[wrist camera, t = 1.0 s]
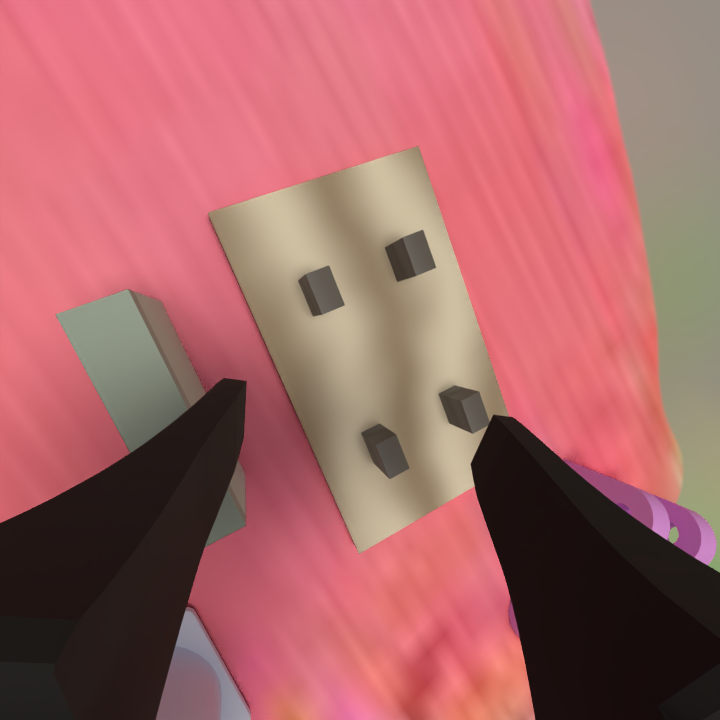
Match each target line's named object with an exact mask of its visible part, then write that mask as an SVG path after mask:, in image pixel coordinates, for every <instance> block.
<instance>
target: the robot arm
mask: <svg viewBox="0 0 720 720" xmlns="http://www.w3.org/2000/svg"><path fill="white" fill-rule="evenodd" d="M246 382H247V381H241V380H234V379H226V378H223V379H222V380H220V381H219V382H218V383H217V384H216V385H215V386H214V387H213V388H212V389H210V390H209V391H208V392H207V393H206V394H205V395H204V396H203V397H202V398H201V399H199V400H198V401H197V402H196V403H195V404H194V405H193V406H191V407H190V408H189V409H188V410H187V411H185V412H184V413H183V414H182V415H181V416H179V417H178V418H177V419H176V420H175V421H173V422H172V423H171V424H170V425H168V426H167V427H166V428H164V429H163V430H162V431H160V432H159V433H158V434H156V435H155V436H154V437H152V438H151V439H150V440H148V441H147V442H146V443H144V444H143V445H141V446H140V447H139V448H137V449H136V450H134V451H133V452H131V453H130V454H128V455H127V456H125V457H124V458H122V459H121V460H119V461H117V462H116V463H114V464H113V465H111V466H110V467H108V468H106V469H105V470H103V471H101V472H100V473H98V474H96V475H94V476H93V477H91V478H89V479H87V480H85V481H84V482H82V483H80V484H78V485H76V486H74V487H73V488H71V489H69V490H67V491H65V492H63V493H62V494H60V495H58V496H56V497H54V498H52V499H50V500H48V501H46V502H44V503H42V504H40V505H38V506H36V507H34V508H32V509H30V510H28V511H26V512H24V513H22V514H19V515H17V516H15V517H13V518H11V519H9V520H6V521H4V522H2V523H0V720H251V712H250V709H249V707H248V706H247V704H246V702H245V700H244V698H243V697H242V695H241V693H240V691H239V689H238V687H237V686H236V684H235V682H234V680H233V678H232V677H231V675H230V673H229V671H228V669H227V668H226V666H225V664H224V662H223V660H222V659H221V657H220V655H219V653H218V651H217V650H216V648H215V646H214V644H213V642H212V640H211V639H210V637H209V635H208V633H207V631H206V630H205V628H204V626H203V624H202V622H201V621H200V619H199V617H198V615H197V613H196V612H195V610H194V609H193V608H190V607H186V606H187V603H188V599H189V596H190V593H191V589H192V586H193V582H194V579H195V575H196V572H197V569H198V565H199V562H200V559H201V556H202V553H203V551H204V548H205V545H206V542H207V540H208V537H209V535H210V532H211V530H212V527H213V525H214V522H215V520H216V517H217V515H218V512H219V510H220V507H221V505H222V502H223V499H224V497H225V494H226V492H227V489H228V487H229V484H230V482H231V479H232V477H233V474H234V471H235V468H236V465H237V461H238V457H239V454H240V450H241V446H242V442H243V438H244V422H245V402H246ZM471 470H472V475H473V481H474V485H475V490H476V494H477V498H478V501H479V504H480V507H481V510H482V513H483V516H484V519H485V521H486V524H487V527H488V530H489V533H490V536H491V538H492V541H493V544H494V547H495V550H496V553H497V555H498V558H499V561H500V564H501V567H502V570H503V573H504V576H505V579H506V583H507V586H508V590H509V594H510V598H511V602H512V606H513V610H514V614H515V618H516V623H517V627H518V632H519V636H520V641H521V646H522V650H523V655H524V660H525V664H526V670H527V675H528V681H529V686H530V691H531V697H532V702H533V708H534V713H535V720H720V573H719V572H718V571H716V570H714V569H713V568H711V567H709V566H708V565H706V564H704V563H703V562H701V561H699V560H698V559H696V558H694V557H693V556H691V555H690V554H688V553H686V552H685V551H683V550H682V549H680V548H679V547H677V546H675V545H674V544H672V543H671V542H669V541H668V540H666V539H665V538H663V537H662V536H660V535H659V534H657V533H656V532H654V531H653V530H651V529H650V528H648V527H647V526H645V525H644V524H643V523H641V522H640V521H638V520H637V519H636V518H634V517H633V516H631V515H630V514H629V513H627V512H626V511H624V510H623V509H622V508H620V507H619V506H618V505H616V504H615V503H614V502H613V501H611V500H610V499H609V498H607V497H606V496H605V495H604V494H602V493H601V492H600V491H599V490H597V489H596V488H595V487H594V486H593V485H591V484H590V483H589V482H588V481H586V480H585V479H584V478H583V477H582V476H580V475H579V474H578V473H577V472H576V471H575V470H573V469H572V468H571V467H570V466H569V465H568V464H566V463H565V462H564V461H563V460H562V459H561V458H560V457H559V456H557V455H556V454H555V453H554V452H553V451H552V450H551V449H550V448H548V447H547V446H546V445H545V444H544V443H543V442H542V441H541V440H539V439H538V438H537V437H536V436H535V435H534V434H533V433H531V432H530V431H529V430H528V429H527V428H526V427H524V426H523V425H522V424H521V423H520V422H518V421H517V420H516V419H514V418H513V417H508V416H501V415H493V416H492V418H491V420H490V423H489V425H488V427H487V429H486V431H485V433H484V436H483V438H482V440H481V442H480V444H479V446H478V448H477V451H476V453H475V455H474V457H473V459H472V461H471Z"/></svg>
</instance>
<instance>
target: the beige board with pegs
mask: <svg viewBox="0 0 720 720" xmlns="http://www.w3.org/2000/svg"><path fill="white" fill-rule="evenodd" d="M208 215H209V218H210V221H211V223H212V225H213V227H214V230H215V232H216V234H217V236H218V239H219V241H220V243H221V245H222V248H223V250H224V252H225V254H226V257H227V259H228V261H229V263H230V266H231V268H232V270H233V272H234V275H235V277H236V279H237V281H238V284H239V286H240V288H241V290H242V293H243V295H244V297H245V299H246V302H247V304H248V306H249V308H250V311H251V313H252V315H253V317H254V320H255V322H256V324H257V326H258V329H259V331H260V333H261V335H262V338H263V340H264V342H265V344H266V347H267V349H268V351H269V353H270V356H271V358H272V360H273V362H274V365H275V367H276V369H277V371H278V374H279V376H280V378H281V380H282V383H283V385H284V387H285V389H286V392H287V394H288V396H289V398H290V401H291V403H292V405H293V407H294V410H295V412H296V414H297V416H298V419H299V421H300V423H301V425H302V428H303V430H304V432H305V434H306V437H307V439H308V441H309V443H310V446H311V448H312V450H313V452H314V455H315V457H316V459H317V461H318V464H319V466H320V468H321V470H322V473H323V475H324V477H325V479H326V482H327V484H328V486H329V488H330V491H331V493H332V495H333V497H334V500H335V502H336V504H337V506H338V509H339V511H340V513H341V515H342V518H343V520H344V522H345V524H346V527H347V529H348V531H349V533H350V536H351V538H352V540H353V542H354V545H355V547H356V548H357V550H358V552H359V554H360V553H362V552H363V551H365V550H367V549H368V548H370V547H372V546H374V545H375V544H377V543H379V542H380V541H382V540H384V539H385V538H387V537H389V536H391V535H392V534H394V533H396V532H397V531H399V530H401V529H402V528H404V527H406V526H408V525H409V524H411V523H413V522H414V521H416V520H418V519H419V518H421V517H423V516H425V515H426V514H428V513H430V512H431V511H433V510H435V509H437V508H438V507H440V506H442V505H443V504H445V503H447V502H448V501H450V500H452V499H454V498H455V497H457V496H459V495H460V494H462V493H464V492H465V491H467V490H469V489H471V488H472V487H474V486H475V485H474V481H473V475H472V470H471V461H472V459H473V457H474V455H475V453H476V451H477V448H478V446H479V444H480V442H481V440H482V438H483V436H484V433H485V431H486V429H487V427H488V425H489V423H490V420H491V418H492V416H493V415H501V416H508V417H509V415H508V412H507V409H506V406H505V403H504V400H503V397H502V394H501V391H500V388H499V385H498V382H497V379H496V376H495V373H494V370H493V367H492V364H491V361H490V358H489V355H488V352H487V349H486V346H485V343H484V340H483V337H482V334H481V331H480V328H479V325H478V322H477V319H476V316H475V313H474V310H473V307H472V304H471V301H470V298H469V295H468V292H467V289H466V286H465V283H464V280H463V277H462V274H461V271H460V268H459V265H458V262H457V259H456V257H455V254H454V251H453V248H452V245H451V242H450V239H449V236H448V233H447V230H446V227H445V224H444V221H443V218H442V215H441V212H440V209H439V206H438V203H437V200H436V197H435V194H434V191H433V188H432V185H431V182H430V179H429V176H428V173H427V170H426V167H425V164H424V161H423V158H422V155H421V152H420V149H419V146H417V147H414V148H411V149H408V150H404V151H401V152H398V153H395V154H392V155H389V156H385V157H382V158H379V159H376V160H373V161H370V162H367V163H363V164H360V165H357V166H354V167H351V168H348V169H344V170H341V171H338V172H335V173H332V174H329V175H326V176H322V177H319V178H316V179H313V180H310V181H307V182H304V183H300V184H297V185H294V186H291V187H288V188H285V189H281V190H278V191H275V192H272V193H269V194H266V195H263V196H259V197H256V198H253V199H250V200H247V201H244V202H241V203H237V204H234V205H231V206H228V207H225V208H222V209H218V210H215V211H212V212H209V213H208Z"/></svg>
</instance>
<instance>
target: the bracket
mask: <svg viewBox="0 0 720 720" xmlns="http://www.w3.org/2000/svg"><path fill="white" fill-rule="evenodd" d="M563 461H564V462H565V463H566V464H568V465H569V466H570V467H571V468H572V469H573V470H575V471H576V472H577V473H578V474H579V475H580V476H582V477H583V478H584V479H585V480H586V481H588V482H589V483H590V484H591V485H593V486H594V487H595V488H596V489H597V490H599V491H600V492H601V493H602V494H604V495H605V496H606V497H607V498H609V499H610V500H611V501H613V502H614V503H615V504H616V505H618V506H619V507H620V508H622V509H623V510H624V511H626V512H627V513H629V514H630V515H631V516H633V517H634V518H636V519H637V520H638V521H640V522H641V523H643V524H644V525H645V526H647V527H648V528H650V529H651V530H653V531H654V532H656V533H657V534H659V535H660V536H662V537H663V538H665V539H666V540H668V541H669V538H668V536H669V531H670V529H671V528H673V527H675V526H676V527H677V529H678V532H679V537H678V540H677V541H676V542H675V543H673V544H674V545H675V546H677V547H679V548H680V549H682V550H683V551H685V552H686V553H688V554H690V555H691V556H693V557H694V558H696V559H698V560H699V561H701V562H703V563H704V564H706V565H708V564H709V562H711V560H712V559H713V557H714V555H715V552H716V538H715V535H714V532H713V530H712V528H711V526H710V525H709V524H708V522H707V521H706V520H705V519H704V518H703V517H702V516H700V515H699V514H697V513H696V512H694V511H692V510H689V509H687V508H684V507H682V506H679V505H677V504H675V503H672V502H670V501H667V500H665V499H662V498H660V497H657V496H655V495H652V494H650V493H648V492H646V491H643V490H641V489H638V488H636V487H633V486H631V485H628V484H626V483H623V482H621V481H618V480H616V479H613V478H611V477H608V476H606V475H603V474H601V473H598V472H596V471H593V470H591V469H588V468H585V467H583V466H580V465H578V464H575V463H573V462H570V461H568V460H565V459H563ZM669 542H670V541H669ZM509 619H510V624H511V626H512V629H513V630H514V632H515V633H516V634H517V636H518V637H519V638H520V636H519V632H518V627H517V623H516V618H515V614H514V610H513V606H512V602H510V607H509Z"/></svg>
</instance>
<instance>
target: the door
mask: <svg viewBox="0 0 720 720" xmlns="http://www.w3.org/2000/svg"><path fill="white" fill-rule="evenodd" d="M55 315H56V316H57V318H58V320H59V322H60V324H61V326H62V327H63V329H64V331H65V333H66V335H67V337H68V339H69V340H70V342H71V344H72V346H73V348H74V350H75V352H76V353H77V355H78V357H79V359H80V361H81V363H82V364H83V366H84V368H85V370H86V372H87V374H88V376H89V377H90V379H91V381H92V383H93V385H94V387H95V389H96V390H97V392H98V394H99V396H100V398H101V400H102V401H103V403H104V405H105V407H106V409H107V411H108V413H109V414H110V416H111V418H112V420H113V422H114V424H115V425H116V427H117V429H118V431H119V433H120V435H121V437H122V438H123V440H124V442H125V444H126V446H127V448H128V450H129V451H130V453H131V452H133V451H134V450H136V449H137V448H139V447H140V446H141V445H143V444H144V443H146V442H147V441H148V440H150V439H151V438H152V437H154V436H155V435H156V434H158V433H159V432H160V431H162V430H163V429H164V428H166V427H167V426H168V425H170V424H171V423H172V422H173V421H175V420H176V419H177V418H178V417H179V416H181V415H182V414H183V413H184V412H185V411H187V410H188V409H189V408H190V407H191V406H193V405H194V404H195V403H196V402H197V401H198V400H199V399H201V398H202V397H203V396H204V395H205V394H206V392H205V390H204V388H203V386H202V384H201V382H200V380H199V378H198V376H197V374H196V371H195V369H194V367H193V365H192V363H191V361H190V359H189V357H188V355H187V353H186V351H185V349H184V347H183V345H182V343H181V341H180V339H179V337H178V334H177V332H176V330H175V328H174V326H173V324H172V322H171V320H170V318H169V316H168V314H167V312H166V310H165V308H164V306H163V304H162V302H161V301H159V300H156V299H153V298H151V297H148V296H145V295H142V294H140V293H137V292H134V291H131V290H129V289H127V290H124V291H121V292H119V293H116V294H113V295H110V296H107V297H104V298H101V299H98V300H96V301H93V302H90V303H87V304H84V305H81V306H78V307H76V308H73V309H70V310H67V311H64V312H61V313H58V314H55ZM244 526H246V494H245V472H244V470H243V468H242V466H241V464H240V462H239V460H238V461H237V465H236V468H235V471H234V474H233V477H232V479H231V482H230V484H229V487H228V489H227V492H226V494H225V497H224V499H223V502H222V505H221V507H220V510H219V512H218V515H217V517H216V520H215V522H214V525H213V527H212V530H211V532H210V535H209V537H208V540H207V542H206V545H205V547H206V546H208V545H210V544H212V543H214V542H216V541H217V540H219V539H221V538H223V537H225V536H227V535H229V534H231V533H233V532H235V531H237V530H238V529H240V528H242V527H244Z"/></svg>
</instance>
